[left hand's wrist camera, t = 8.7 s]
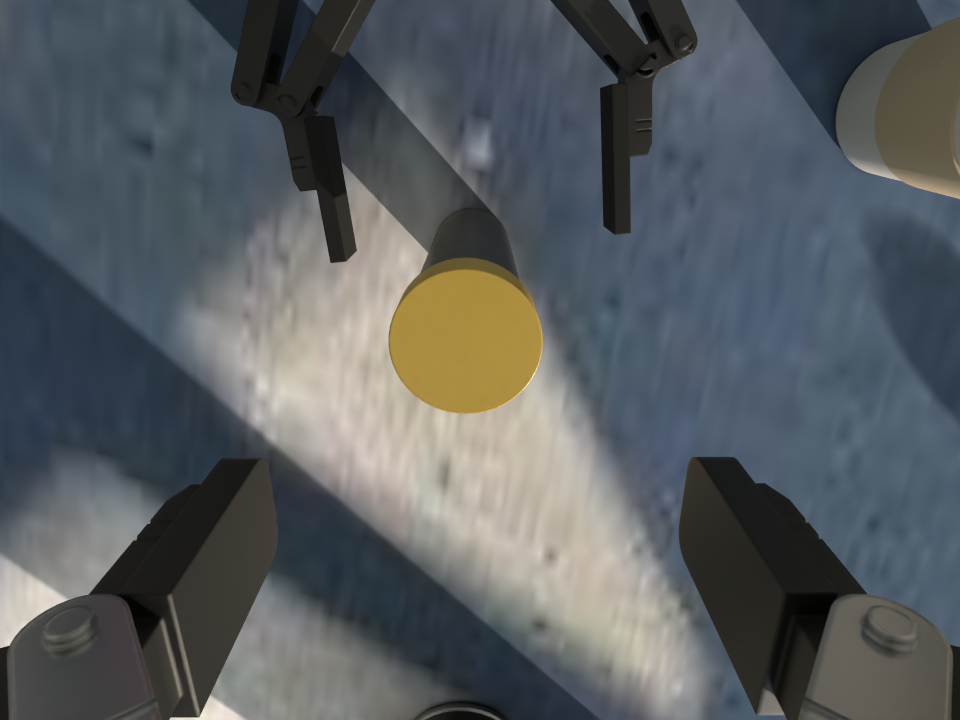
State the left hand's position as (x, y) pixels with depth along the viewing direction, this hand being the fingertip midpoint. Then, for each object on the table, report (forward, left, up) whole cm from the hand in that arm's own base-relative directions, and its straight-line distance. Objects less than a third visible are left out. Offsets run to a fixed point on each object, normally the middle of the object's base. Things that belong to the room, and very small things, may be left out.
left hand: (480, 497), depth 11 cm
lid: (0, 0, -9) cm, 9 cm away
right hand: (0, +1, -20) cm, 20 cm away
